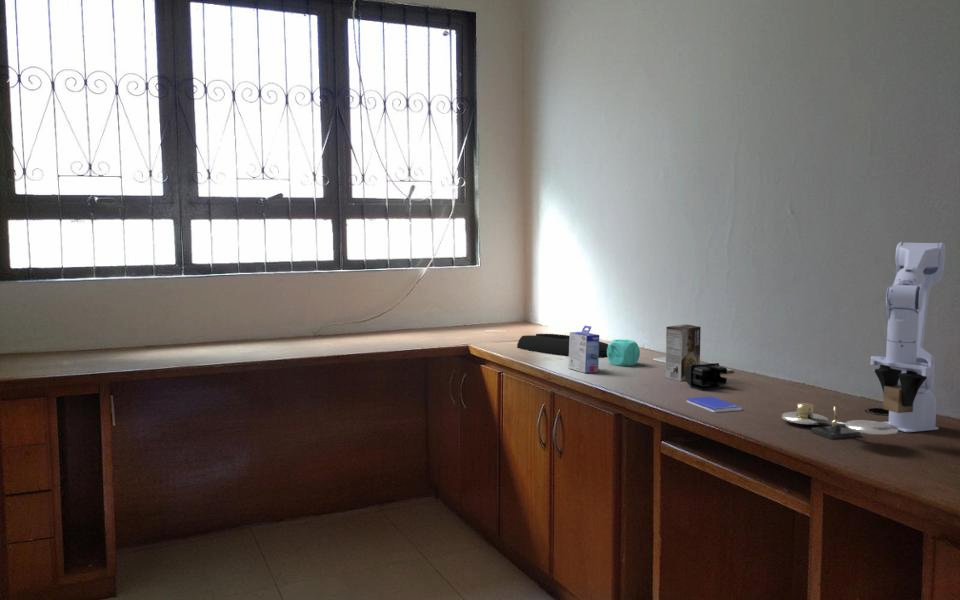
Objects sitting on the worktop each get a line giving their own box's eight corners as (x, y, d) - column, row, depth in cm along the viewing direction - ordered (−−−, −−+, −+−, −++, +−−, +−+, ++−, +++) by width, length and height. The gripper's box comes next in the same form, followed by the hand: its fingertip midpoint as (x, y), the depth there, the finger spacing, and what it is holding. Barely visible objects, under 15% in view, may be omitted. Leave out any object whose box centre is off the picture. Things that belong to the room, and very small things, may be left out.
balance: (806, 417, 186) (808, 391, 185) (908, 450, 158) (910, 420, 157) (772, 419, 183) (773, 393, 182) (869, 454, 155) (871, 424, 154)
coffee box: (683, 374, 240) (684, 324, 239) (700, 378, 235) (701, 326, 234) (664, 378, 235) (665, 326, 233) (681, 381, 230) (682, 328, 228)
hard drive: (741, 406, 193) (713, 396, 205) (714, 408, 190) (686, 398, 202) (741, 412, 193) (712, 401, 205) (713, 414, 191) (686, 403, 202)
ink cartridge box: (599, 372, 244) (600, 327, 242) (585, 373, 241) (586, 328, 240) (581, 367, 252) (582, 324, 251) (567, 368, 250) (568, 325, 248)
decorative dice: (624, 367, 253) (625, 343, 252) (606, 364, 259) (606, 340, 259) (639, 364, 258) (640, 341, 257) (621, 361, 264) (622, 338, 264)
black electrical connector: (711, 383, 226) (712, 361, 226) (727, 388, 220) (728, 365, 219) (684, 386, 223) (684, 363, 222) (699, 391, 216) (700, 367, 216)
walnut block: (897, 407, 166) (898, 385, 166) (912, 411, 162) (914, 388, 162) (882, 408, 165) (883, 386, 164) (897, 413, 161) (899, 389, 161)
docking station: (587, 361, 266) (587, 347, 265) (506, 348, 296) (506, 335, 295) (630, 354, 283) (630, 340, 282) (549, 342, 312) (549, 329, 312)
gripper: (860, 337, 168) (857, 397, 169) (915, 346, 154) (911, 412, 155) (886, 335, 170) (882, 395, 171) (942, 345, 156) (938, 410, 157)
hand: (898, 403), depth 163 cm, fingers closed on walnut block, 4 cm apart
